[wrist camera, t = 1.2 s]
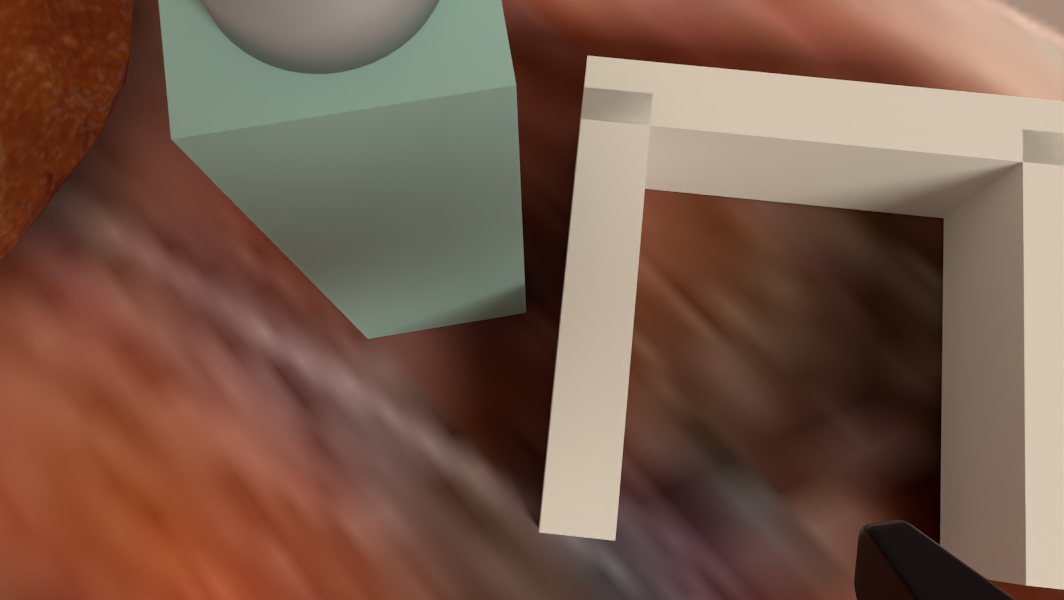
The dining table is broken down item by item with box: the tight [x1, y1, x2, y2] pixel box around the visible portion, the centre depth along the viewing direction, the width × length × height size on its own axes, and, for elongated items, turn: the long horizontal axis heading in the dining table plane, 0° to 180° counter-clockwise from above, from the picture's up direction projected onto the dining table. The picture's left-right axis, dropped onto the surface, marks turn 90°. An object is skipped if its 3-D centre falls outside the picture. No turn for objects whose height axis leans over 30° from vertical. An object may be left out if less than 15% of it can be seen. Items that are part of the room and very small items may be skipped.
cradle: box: [539, 56, 1064, 589], centre depth 21 cm, size 10×11×4 cm
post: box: [158, 0, 526, 339], centre depth 17 cm, size 4×4×14 cm
